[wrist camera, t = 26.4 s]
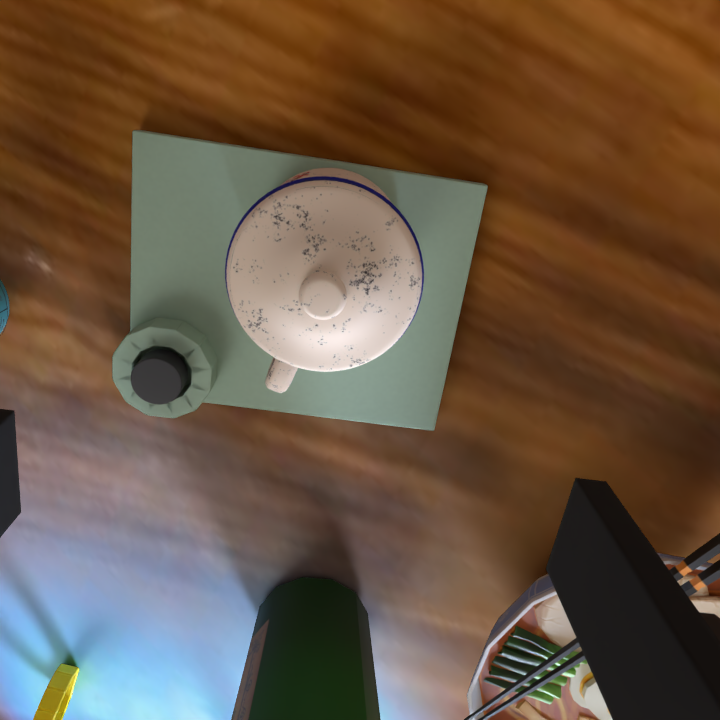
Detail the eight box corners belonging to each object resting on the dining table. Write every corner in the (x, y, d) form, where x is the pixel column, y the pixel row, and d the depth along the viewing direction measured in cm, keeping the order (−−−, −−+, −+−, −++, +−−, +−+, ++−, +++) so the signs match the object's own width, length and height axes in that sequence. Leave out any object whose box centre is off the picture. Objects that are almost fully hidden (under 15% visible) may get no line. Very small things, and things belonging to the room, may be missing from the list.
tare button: (138, 390, 37) (129, 401, 36) (138, 345, 36) (130, 354, 35) (187, 396, 38) (181, 408, 36) (189, 352, 37) (183, 361, 35)
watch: (78, 706, 51) (45, 778, 45) (44, 698, 50) (7, 770, 45) (92, 655, 49) (60, 724, 43) (57, 647, 48) (20, 715, 43)
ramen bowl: (553, 759, 55) (586, 864, 47) (380, 620, 48) (386, 715, 40) (804, 607, 48) (889, 699, 41) (645, 424, 42) (711, 492, 34)
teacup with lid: (285, 134, 33) (256, 143, 23) (433, 202, 35) (472, 241, 24) (214, 324, 37) (161, 409, 27) (349, 378, 39) (351, 479, 28)
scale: (128, 391, 40) (112, 411, 37) (130, 128, 34) (111, 129, 31) (430, 428, 42) (436, 451, 39) (483, 183, 36) (495, 188, 33)
